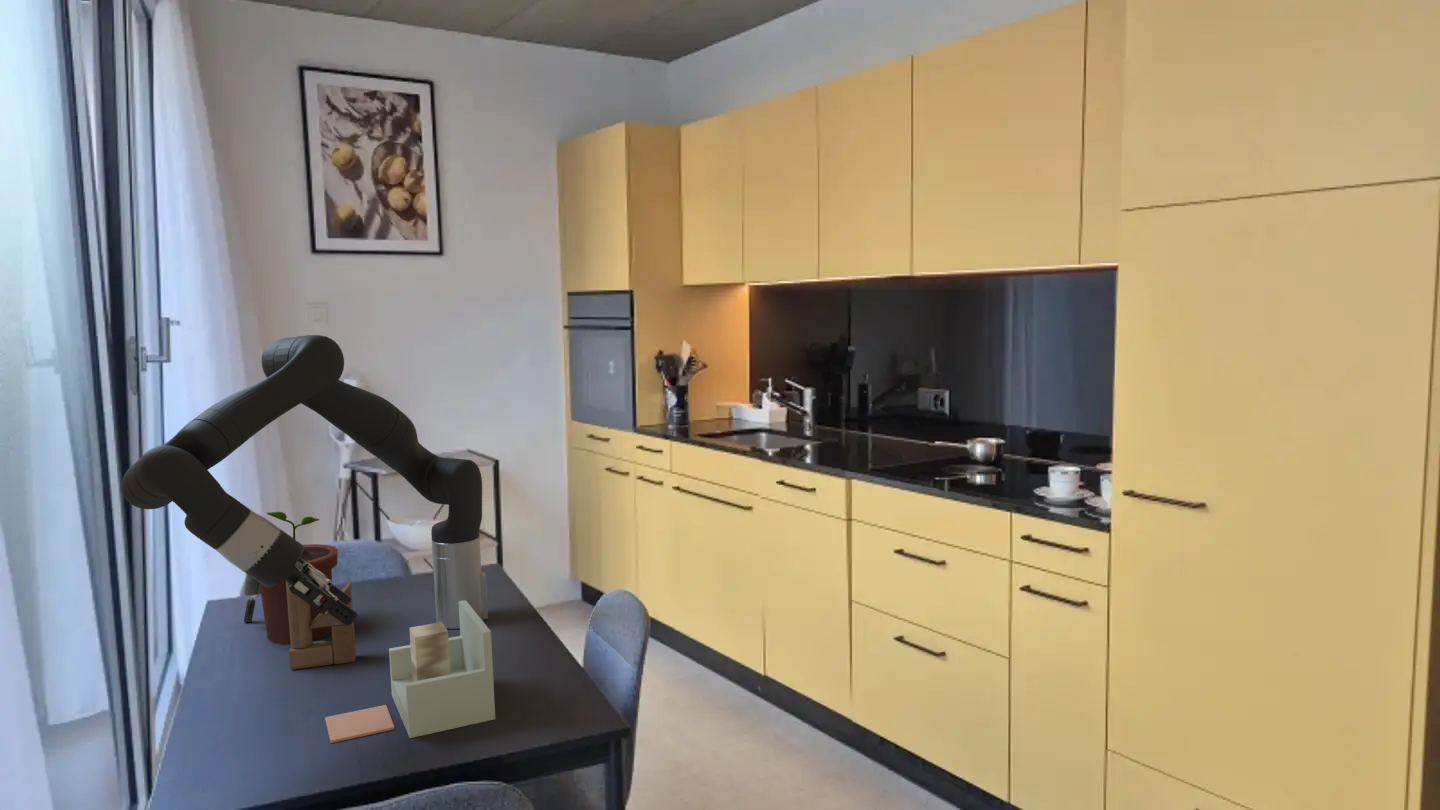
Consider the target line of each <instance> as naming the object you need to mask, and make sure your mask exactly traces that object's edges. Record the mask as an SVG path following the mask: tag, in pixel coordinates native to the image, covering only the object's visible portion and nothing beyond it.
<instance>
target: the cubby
mask: <svg viewBox="0 0 1440 810" xmlns="http://www.w3.org/2000/svg"><path fill="white" fill-rule="evenodd" d="M459 620H460V628H459V635H458V636H453V637H448V638H449V656H450V675H445V676H440V677H435V678H430V679H425V680H420V681H415V682H413V678H412V662H411V645H410V644H408V645H403V646H396V647H391V648H388V651H389V652H388V655H389V671H390V673H389V674H390V685H391V686H390V687H391V696H392V699H393V702H394V704H395V707H396V709H397V711H398V714H399V716H400V719H401V721H402V723H403V725H404V729H405V730H406V733H407V735H408V737H409V739H413V738H417V737H421V736H427V735H431V734H434V733H439V732H444V731H448V730H453V729H456V728H461V727H467V726H472V725H476V724H479V723H484V722H489V721H493V720H496V709H495V708H496V705H495V704H496V703H495V688H494V685H495V684H494V668H493V667H494V665H493V646H492V644H493V643H492V630H490V628H489V627H488V626H487V624H485V622H484V620H483V621H482V620H481V618H480V617H479V616H478V615H477V613H476V612H475V611H474V610H473V609H472V607H471V606H470V605H469V604H468V602H467V601H466V600H464V601H459Z"/></svg>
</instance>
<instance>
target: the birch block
mask: <svg viewBox="0 0 1440 810" xmlns="http://www.w3.org/2000/svg"><path fill="white" fill-rule="evenodd" d="M449 638H450V637H449V631H448V628H445V626H444V625H443V623H442V622H439V623H437V622H433V623H429V624H428V623H427V624H422V625H418V626H411V627H409V645H411V662H412V678H413V682H415V681H420V680H425V679H430V678H435V677H440V676H445V675H450V656H449Z"/></svg>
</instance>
